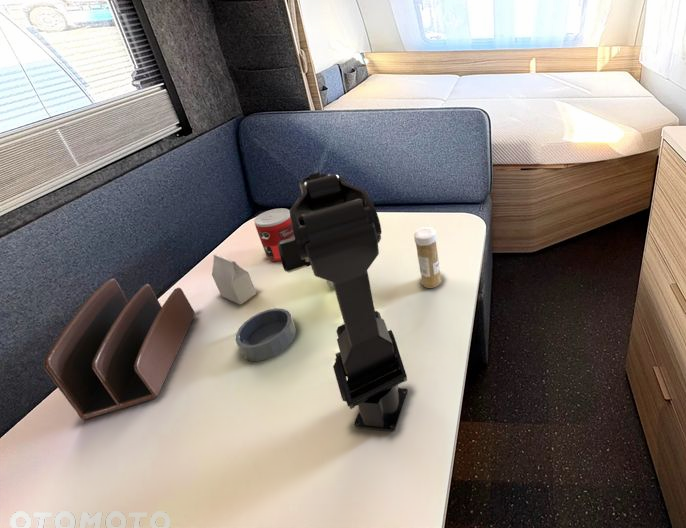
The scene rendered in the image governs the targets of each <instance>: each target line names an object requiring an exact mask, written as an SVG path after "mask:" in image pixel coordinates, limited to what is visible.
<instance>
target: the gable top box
mask: <svg viewBox="0 0 686 528" xmlns="http://www.w3.org/2000/svg"><path fill="white" fill-rule="evenodd" d="M211 277H212V279H213V281H214V283H215V285H216V288H217V291H218V292H219V294H220V296H221V297H223V298H225V299H226V300H229V301H231V302H233V303H236V304H238V305H240V306H241V305H242V304H244V303H246V302H247V301H248V300H250V299H251V298H252V297H253V296H255V295H257V291H256V288H255V285H254V283H253V280H252V277H251V275H250V273H249V271H247V270H246V269H244V268H243V267H241V266H240V265H238V263H237V262H236V261H235V260H232V259H229V258H227V257H224V256H221V255H219V254H217V253H215V254H213V264H212V269H211Z"/></svg>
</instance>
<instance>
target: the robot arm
mask: <svg viewBox="0 0 686 528" xmlns="http://www.w3.org/2000/svg"><path fill="white" fill-rule="evenodd" d="M298 185H299V190H300V195H299V197H298V198H297V200H296V201H295V202H294V204H293V205H292V206H291V208H290V209H289V213H290V218H291V223H292V228H293V232H294V237H292V238H289V239H286V240H282V241H280V242H279V244H278V249H279V253H280V257H281V261H280V262H281V264H282V268H283V270H284V271H285V272H287V273H293V272H295V271H299V270H301V269H304V268H308V267H311V269H312V273H313V275H314V277H316V278H320V279H322V280H325V281H326V280H328V281H330V282H333V285H334V287H333V289H334V292H335V296H336V300H337V303H338V306H339V310H340V313H341V317H342V320H343V324H340V325H338V326H337V328H336V335H337V339H336V341H337V345H338V350H339V352H336V353H335V359H334V364H333V365H332V368H333V372H334V374H335V379H336V383H337V386H338V390H339V394H340V396H341V400H342V402H344V403H345V402H346V405H347V407H349V410H353V409H354V408H355V407H358V410H359V411H358V414H357V416H356V418H355V420H354V423H353V425H354V427H355V428H356V429H364V430H374V431H385V432H395V430H397V427H398V424H399V421H400V418H401V415H402V412H403V410H404V407H405V403H406V401H407V397H408V394H409V390H408V388H406V387H404V388H403V387H399V385H401V384H402V383H406V382H407V381H408V376H407V372H406V369H405V366H404V363H403V359H402V356H401V353H400V350H399V346H398V344H397V341H396V337H395V334H394V333H393V330H392V329H388V327H387V324H386V322H385V319H384V318H383V317H382V315H381V312H380V311H378V310H375V304H374V298H373V294H372V288H371V283H370V278H369V277H370V276H369V272H368V270H369V268H370V267H371V265H372V264H373V263H374V261H375V260H376V258H377V257H378V256H379V253H380V252H379V251H380V249H379V244H380V242H381V240H382V226H381V222H380V219H379V215H378V212H377V209H376V207H375V205H374V203H373V200H372V199H371V197H370V195H369V193H368V192H367V190H365V189H364V188H361V187H358V186H356V185H354V184H351V183H348V182H346V180H345V178H344V176H343V174H339V175H338V174H337V173H334V174H329V173H321V171H318V172H313V173H310V174H308V176H307V177H305V178H303V179H301V180H300V181H299V182H298Z"/></svg>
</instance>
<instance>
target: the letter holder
mask: <svg viewBox="0 0 686 528" xmlns="http://www.w3.org/2000/svg"><path fill="white" fill-rule="evenodd" d="M195 315H196V312H195V310H194V309H193V307H192V305H191V303H190V301H189V300H188V298H187V296H186V294H185V292H184V290H183V289H182V288H181V287H176V288H174V289H173V291H172V292H171V294H169V296H168V297H167V299H166V300H165V302H164V303H163V304H162V305H161V302H159V299H158V297H157V296H156V294H155V292H154V290H153V288H152V286H151V284H148V283H146V284H144V285H142V286H141V287H140V288H139V289H138V291H136V293H135V294H134V295H133V296H132V297H131V298H130V300H129V301H128V300H127V298H126V296H125V294H124V292H123V290H122V288H121V286H120V285H119V283H118V281H117V279H115V278H110V279H108V280H106V281H105V282H104V283H103V284H102V285H101V286H99V287H98V289H97V290H95V291H94V292H93V293H92V294H91V295H90V296H89V298H88V299H86V301H85V302H84V303H83V304H82V305H81V307H80V308H79V309H78V310H77V312H76V313H75V314H74V315H73V317H72V318H71V320H70V321H69V322H68V323H67V325H66V326H65V327H64V329H63V330H62V332H61V333H60V334H59V336H58V337H57V339H56V340H55V341H54V343H53V345H52V346H51V348H50V349H49V351H48V352H47V354H46V356H45V358H44V359H43V369H44V370H45V372H46V374H47V375H48V376H49V377H50V379H51V380H52V382H53V383H54V384H55V386H56V387H57V388H58V390H59V391H60V392H61V393H62V395H63V396H64V397H65V399H66V400H67V401H68V403H69V404H70V405H71V407H72V409H74V411H75V412H76V413H77V415H78V417H79V418H80V419H81V420H83V421H87V420H88V419H91V418H95V417H98V416H101V415H104V414H107V413H111V412H115V411H118V410H121V409H125V408H128V407H132V406H135V405H137V404H141V403H144V402H147V401H151V400H155V399H157V398H158V396H159V393H160V391H161V390H162V387H163V385H164V383H165V381H166V379H167V377H168V374H169V372H170V370H171V368H172V366H173V363H174V361H175V359H176V356H177V355H178V353H179V350H180V348H181V346H182V344H183V341H184V340H185V337H186V335H187V333H188V331H189V328H190V326H191V324H192V322H193V320H194V317H195Z"/></svg>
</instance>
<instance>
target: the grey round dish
mask: <svg viewBox="0 0 686 528" xmlns="http://www.w3.org/2000/svg"><path fill="white" fill-rule="evenodd" d="M296 333H297V329H296V325H295V322H294V319H293V317H292V314H291V313H290V311H289V310H288V309H284V308H278V307H277V308H276V307H275V308H270V309H266V310H263V311H261V312H258V313H256V314H255V315H253V316H251V317H249V318H248V319H247V320H246V321H244V322H243V323H242V324H241V325H240V327H239V328H238V330H237V331H236V334H235V339H234V340H235V343H236V345H237V347H238V349H239V351H240V354H241V355H242V357H243V358H244V359H245V360H247V361H250V362H261V361H265V360H268V359H271V358H273V357H275V356H278V354H280V353H282V352H283V351H285V350H286V349H287V347H288V348H289V346H290V345H291V344H292V343H293V341H294V339H295V338H296Z"/></svg>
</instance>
